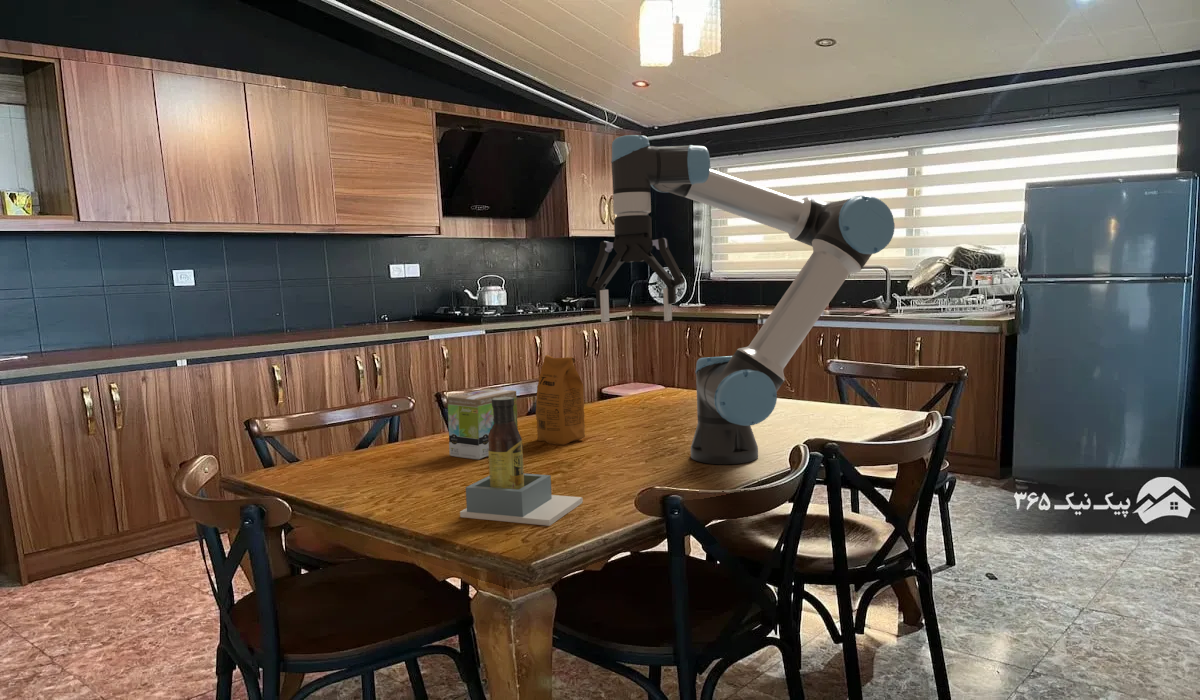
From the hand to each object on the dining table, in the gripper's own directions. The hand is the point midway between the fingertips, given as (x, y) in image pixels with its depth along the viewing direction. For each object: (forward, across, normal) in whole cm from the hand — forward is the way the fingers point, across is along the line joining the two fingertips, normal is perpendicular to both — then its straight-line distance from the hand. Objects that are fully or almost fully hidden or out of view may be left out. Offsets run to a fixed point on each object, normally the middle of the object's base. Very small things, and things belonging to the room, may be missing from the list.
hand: (636, 321), depth 161 cm
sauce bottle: (+32, +16, +27) cm, 45 cm away
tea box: (+33, +46, -14) cm, 58 cm away
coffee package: (+33, +33, -30) cm, 55 cm away
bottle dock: (+33, +14, +26) cm, 44 cm away
